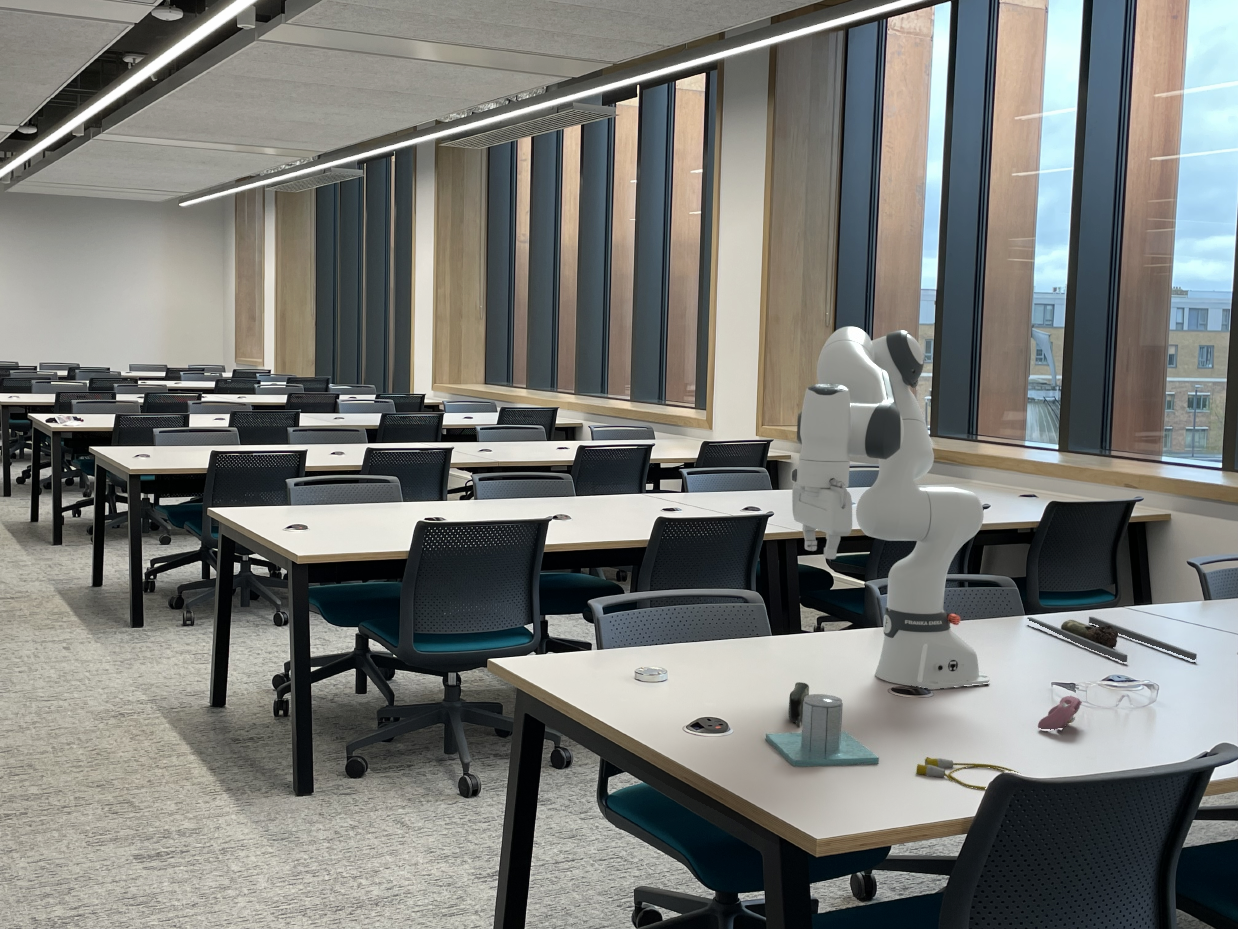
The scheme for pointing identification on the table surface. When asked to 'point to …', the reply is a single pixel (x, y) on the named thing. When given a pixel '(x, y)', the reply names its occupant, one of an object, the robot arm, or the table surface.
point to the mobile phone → (797, 702)
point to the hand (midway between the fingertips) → (819, 554)
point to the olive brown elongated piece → (1093, 632)
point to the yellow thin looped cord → (936, 767)
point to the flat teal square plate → (802, 756)
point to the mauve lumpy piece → (1061, 713)
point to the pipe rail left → (1083, 641)
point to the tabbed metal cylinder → (822, 722)
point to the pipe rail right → (1144, 638)
